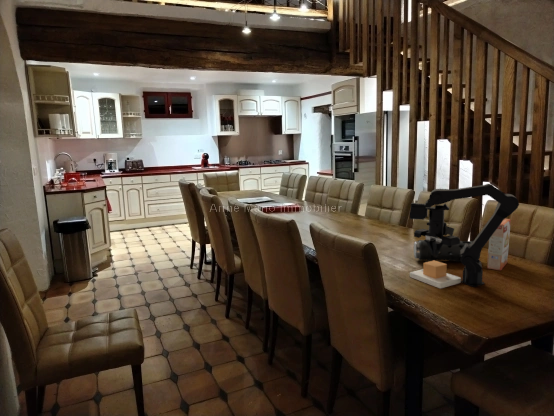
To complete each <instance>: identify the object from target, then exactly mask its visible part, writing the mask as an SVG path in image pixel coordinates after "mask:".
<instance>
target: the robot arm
mask: <svg viewBox="0 0 554 416" xmlns="http://www.w3.org/2000/svg"><path fill="white" fill-rule="evenodd" d="M482 196H483V197H484V196H489V197H490V198H491V199H493V200H494V201H496V202H497V204H496V206H495V209H494V212H493V213H492V215H491V216H490V217H489V219H488V221H487V222H486V223H485V224H484V226H483V228H481V230H480V232H478V234H477V236H476V237H475V239H474V240H472V241H473V242H472V243H471V244H469V245H468V244H467V243H465V245H464V247H463V249H461V250H460V260H461V262H460V263H461V264H462V265H463V266H464V267H463V270H462V279H461V283H462V284H465V285H468V286H470V287H473V288H475V287H479V286H482V285H485V284H486V282H484V281H483V277H484V276H483V273H484V271H483V266H482V261H481V260H480V258H479V256H480V257H481V254H482V253H481V252H482V251H483V248H484V247H485V245H486V244H487V243H488V242H489V239H490V237H491V236H492V235H493V233H494V232H495V231H496V229H497V228H498V227H499V225H500V224H501V223H502V221H503V220H504V219H507V218H508V217H510V216H511V215H512V214H514V212H515V211H516V210H517V209H518V207H520V202H519V200H518V198H517V197H516V196H515V195H513V194H511V193H505V192H504V191H502V190H500V189H498V188H497V187H495V186H494V185H493V184H491V183H486V184H482V185H475V186H467V187H462V188H461V187H460V188H454V189H451V188H450V189H448V188H435V189H433V190H432V191H431V192H430V193H429V197H428V199H427V200H426V201H425V202H424V203H416V202H411V203H410V211H409V220H421V221H424V220H425V219H426V218H428V222H426V225H427V226H428V229H426V228H420V229H415V231H414V232H413V237H415V238H418V239H419V238H421V237H425V239H423V240H424V241H425V242H426V243H427V245H428V246H429V248H430V250H431V252H432V254H433V256H434V257H437V256H438V253H439V251H440V249H441V247H442V245H443V244H444V245H448V246H452V245H456V244H460V241H461V239H460V237H459V236H456V235H454V231H455V228H453V227H452V226H451V227H450V226H448V224H447V222H446V221H445V211H450V206H448V204H447V203H449V202H451V201H454V200H459V199H466V198H474V197H482ZM478 258H479V259H478Z"/></svg>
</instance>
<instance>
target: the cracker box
mask: <svg viewBox="0 0 554 416" xmlns="http://www.w3.org/2000/svg"><path fill="white" fill-rule="evenodd" d="M511 222H512V220H511V219H510V218H505V219H504V220H503V221H502V223H501V224H500V225H499V227H498V228H497V229H496V231H495V232H494V233H493V235H492V236H491V237H490V239H489V240H488V251H487V266H486V267H487V269H488V270H489V269H491V270H495V271H502V270H503V269H504V267H505V266H506V265H507V263H508V260H509V259H508V257H509V256H508V255H509V247H510V245H509V244H510V235H511V234H510V231H511V224H512V223H511Z"/></svg>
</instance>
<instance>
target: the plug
mask: <svg viewBox="0 0 554 416" xmlns="http://www.w3.org/2000/svg"><path fill="white" fill-rule="evenodd" d="M422 263H423V268H422V269H423V274H424V275H427V276H429V277H432V278H435V279H436V278H440V277H444V276H446V275H447V273H448V271H447V269H448V268H447V267H448V264H447V263H444V262H442V261H439V260H436V261H435V260H433V261H425V262H422Z"/></svg>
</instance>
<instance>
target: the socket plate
mask: <svg viewBox="0 0 554 416" xmlns="http://www.w3.org/2000/svg"><path fill="white" fill-rule="evenodd" d="M409 278H412V279H415V280H417V281H420V282H422V283H425V284H427V285H430V286H432V287H435V288H437V289H444V288H447V287H450V286H455V285H458V284H460V283H461V281H462V277H460V276H458V275H454V274H451V273H448V272H447V275H446V276H444V277H440V278H436V279H435V278H432V277H429V276H427V275H424V274H423V268H422V269H418V270H414V271H409Z"/></svg>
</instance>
